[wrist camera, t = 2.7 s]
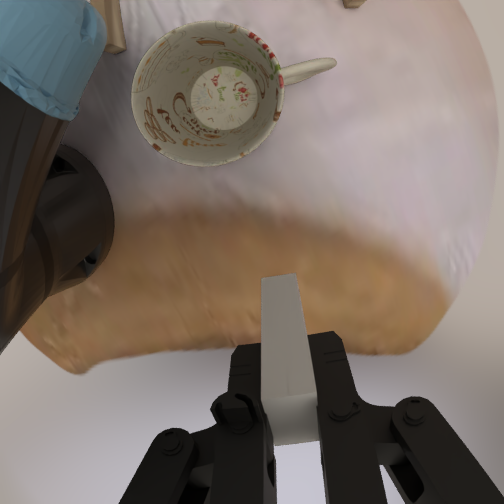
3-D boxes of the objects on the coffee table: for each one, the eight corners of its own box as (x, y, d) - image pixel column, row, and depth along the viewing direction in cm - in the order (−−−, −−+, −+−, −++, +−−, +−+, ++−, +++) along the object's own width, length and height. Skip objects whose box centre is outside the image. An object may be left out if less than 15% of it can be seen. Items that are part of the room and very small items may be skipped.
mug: (160, 75, 23) (110, 62, 14) (301, 23, 21) (324, -19, 12) (197, 160, 26) (164, 190, 17) (336, 111, 24) (378, 115, 15)
